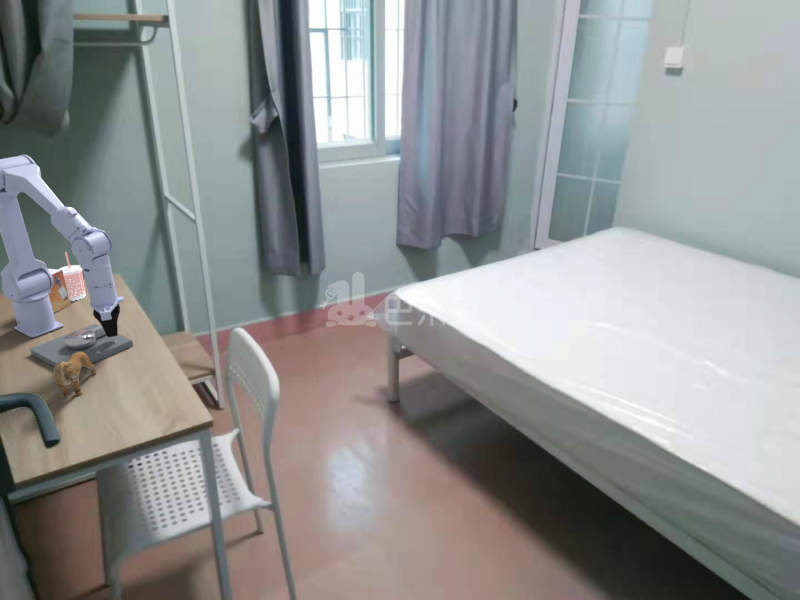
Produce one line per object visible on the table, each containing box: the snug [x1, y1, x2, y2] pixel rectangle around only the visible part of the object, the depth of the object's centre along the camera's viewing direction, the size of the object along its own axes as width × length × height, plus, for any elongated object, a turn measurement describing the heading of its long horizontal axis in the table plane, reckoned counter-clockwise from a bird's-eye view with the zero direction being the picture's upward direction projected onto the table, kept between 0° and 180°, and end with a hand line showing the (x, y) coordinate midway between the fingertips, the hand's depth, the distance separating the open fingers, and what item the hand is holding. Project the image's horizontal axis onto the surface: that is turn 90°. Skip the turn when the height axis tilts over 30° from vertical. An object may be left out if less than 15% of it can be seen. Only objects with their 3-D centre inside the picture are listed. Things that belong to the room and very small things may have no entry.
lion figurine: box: [52, 351, 97, 399], centre depth 120 cm, size 15×5×9 cm, turn 15°
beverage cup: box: [59, 251, 87, 302], centre depth 162 cm, size 6×6×14 cm
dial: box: [64, 324, 106, 350], centre depth 137 cm, size 11×6×2 cm, turn 151°
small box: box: [47, 268, 71, 314], centre depth 156 cm, size 8×6×10 cm
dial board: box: [29, 323, 134, 369], centre depth 136 cm, size 16×16×2 cm
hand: (112, 335), depth 137 cm, fingers closed
